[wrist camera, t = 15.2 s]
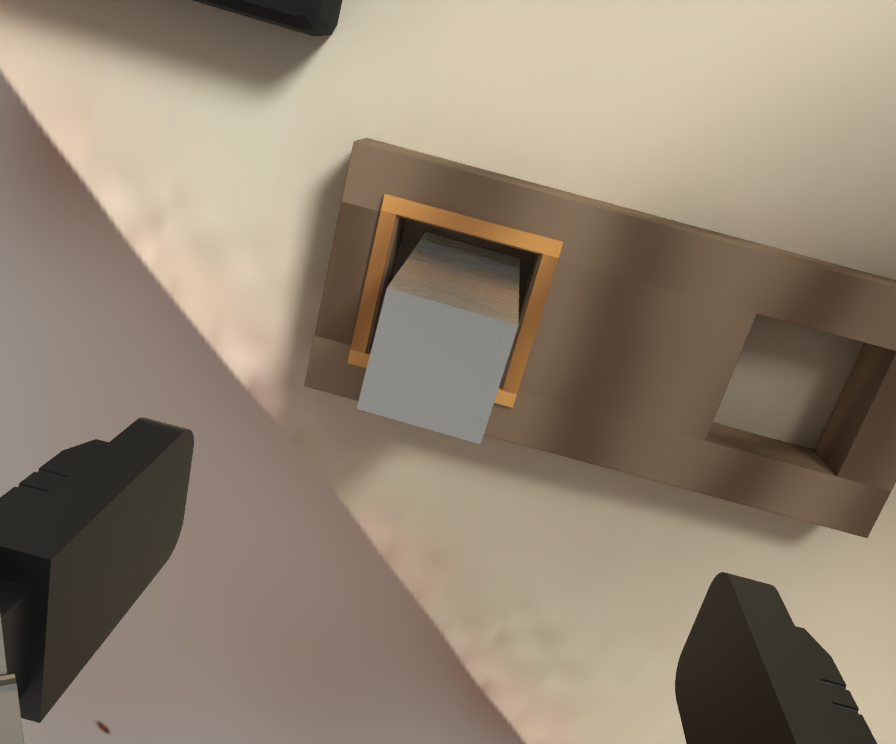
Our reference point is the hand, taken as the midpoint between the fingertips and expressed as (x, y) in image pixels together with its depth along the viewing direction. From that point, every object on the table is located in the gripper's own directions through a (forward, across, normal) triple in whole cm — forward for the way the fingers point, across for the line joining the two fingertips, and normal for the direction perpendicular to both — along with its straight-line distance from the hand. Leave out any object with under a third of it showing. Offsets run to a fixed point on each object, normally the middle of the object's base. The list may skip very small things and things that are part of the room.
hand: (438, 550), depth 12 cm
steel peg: (+22, +1, +2) cm, 22 cm away
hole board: (+22, -6, +2) cm, 23 cm away
